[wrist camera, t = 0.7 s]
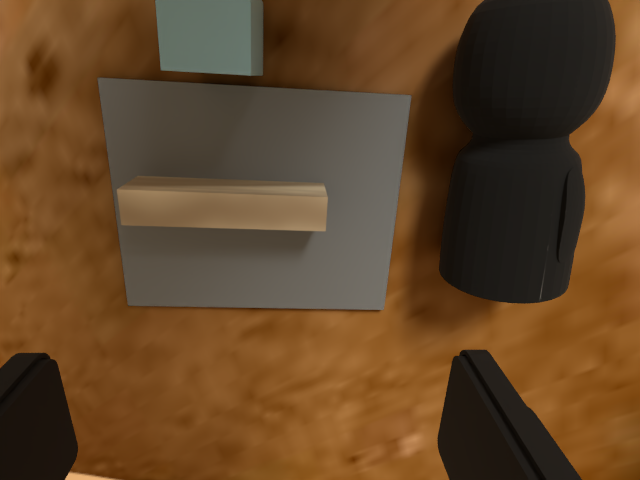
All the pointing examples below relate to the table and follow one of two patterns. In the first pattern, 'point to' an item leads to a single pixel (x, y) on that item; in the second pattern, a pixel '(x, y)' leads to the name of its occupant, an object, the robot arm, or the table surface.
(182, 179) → the plank
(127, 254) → the panel
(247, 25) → the block
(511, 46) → the figurine
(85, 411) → the table surface
